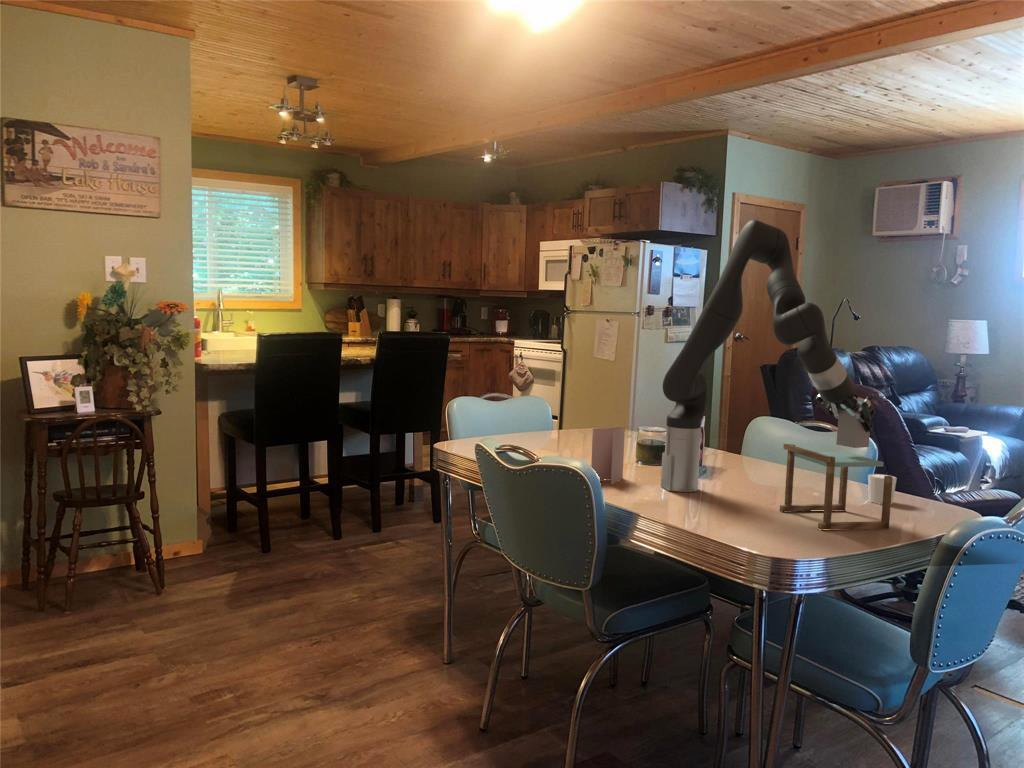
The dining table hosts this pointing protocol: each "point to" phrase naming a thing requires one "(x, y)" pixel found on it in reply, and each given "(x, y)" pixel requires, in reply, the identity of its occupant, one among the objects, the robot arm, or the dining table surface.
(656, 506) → the dining table surface
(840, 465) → the trapdoor
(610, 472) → the greeting card
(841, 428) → the granite block
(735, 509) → the dining table surface
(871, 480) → the white cup
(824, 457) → the frame
